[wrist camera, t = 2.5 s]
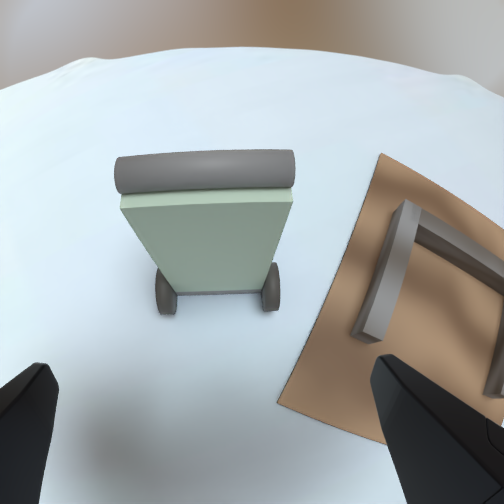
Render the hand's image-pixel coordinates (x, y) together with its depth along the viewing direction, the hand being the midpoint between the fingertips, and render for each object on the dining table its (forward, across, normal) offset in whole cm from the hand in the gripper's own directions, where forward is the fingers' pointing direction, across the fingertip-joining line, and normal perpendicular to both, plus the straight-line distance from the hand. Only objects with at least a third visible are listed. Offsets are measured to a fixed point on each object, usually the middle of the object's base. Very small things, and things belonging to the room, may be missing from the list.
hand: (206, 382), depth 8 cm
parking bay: (+10, -17, +8) cm, 21 cm away
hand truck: (+13, 0, +5) cm, 14 cm away
